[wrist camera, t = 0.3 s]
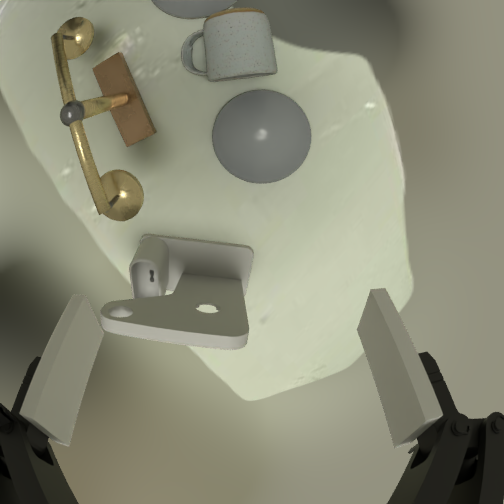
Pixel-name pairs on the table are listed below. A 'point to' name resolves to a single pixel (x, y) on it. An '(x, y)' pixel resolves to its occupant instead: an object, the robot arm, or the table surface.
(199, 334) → the phone holder
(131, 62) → the table surface
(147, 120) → the balance
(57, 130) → the table surface
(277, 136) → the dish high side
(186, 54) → the ceramic mug
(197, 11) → the dish low side
